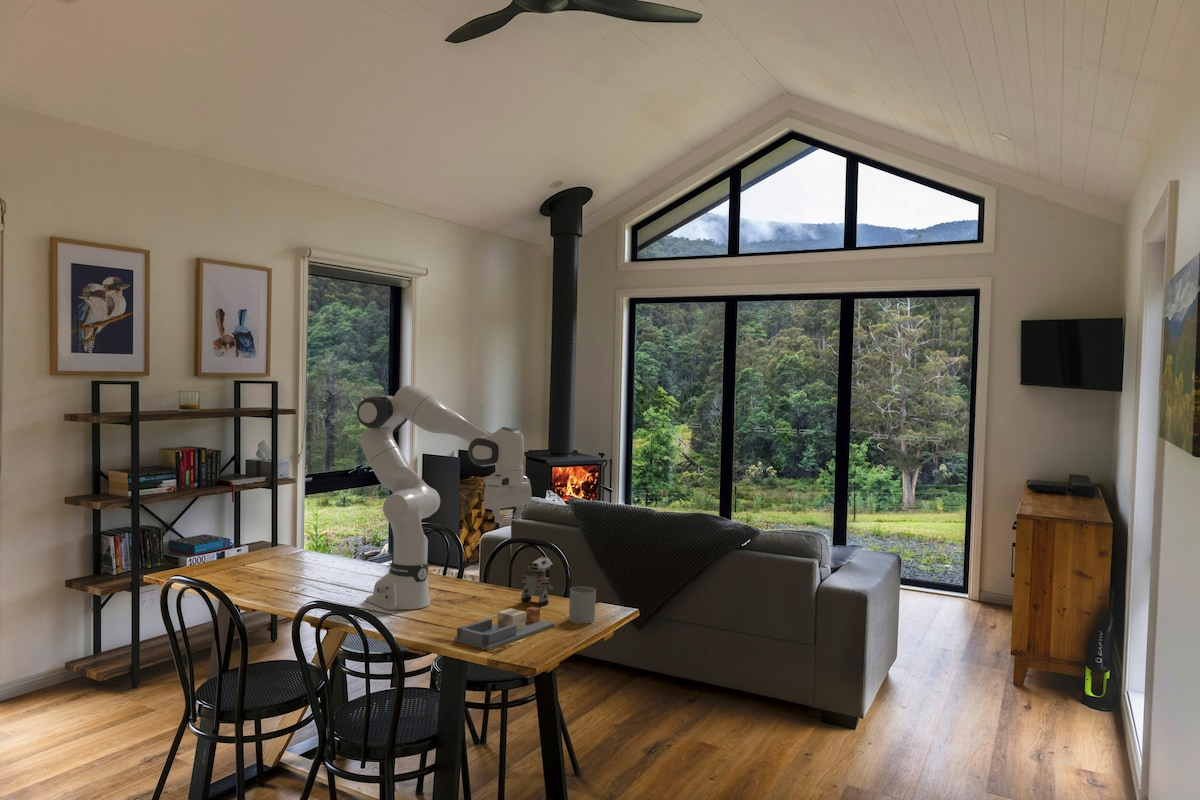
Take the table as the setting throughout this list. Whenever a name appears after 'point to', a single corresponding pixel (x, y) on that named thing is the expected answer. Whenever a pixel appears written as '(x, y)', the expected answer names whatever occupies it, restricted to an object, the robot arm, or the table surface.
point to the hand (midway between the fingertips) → (507, 520)
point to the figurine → (537, 581)
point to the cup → (582, 604)
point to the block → (518, 617)
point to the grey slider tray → (496, 633)
